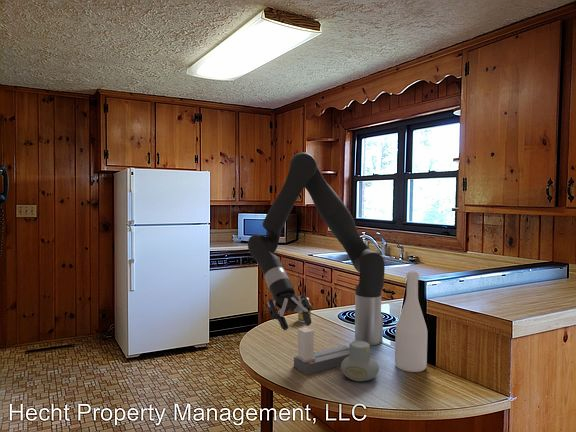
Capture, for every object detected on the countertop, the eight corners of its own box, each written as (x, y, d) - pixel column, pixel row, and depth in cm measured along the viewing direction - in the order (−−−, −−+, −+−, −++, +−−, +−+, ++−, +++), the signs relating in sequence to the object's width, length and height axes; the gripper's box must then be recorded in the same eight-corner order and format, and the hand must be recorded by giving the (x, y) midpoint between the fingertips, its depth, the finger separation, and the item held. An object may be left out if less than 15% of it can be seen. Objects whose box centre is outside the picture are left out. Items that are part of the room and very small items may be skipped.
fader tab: (306, 354, 136) (306, 326, 136) (315, 360, 132) (315, 331, 131) (295, 357, 134) (295, 328, 134) (304, 362, 130) (304, 333, 129)
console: (344, 353, 146) (344, 344, 145) (357, 361, 140) (358, 351, 140) (293, 366, 135) (293, 356, 135) (306, 374, 129) (306, 364, 129)
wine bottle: (427, 363, 138) (429, 269, 136) (425, 375, 129) (428, 275, 127) (396, 359, 141) (398, 267, 140) (393, 370, 133) (395, 273, 131)
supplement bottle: (305, 318, 185) (306, 296, 185) (313, 321, 181) (313, 298, 180) (295, 320, 183) (295, 297, 182) (302, 323, 178) (303, 300, 177)
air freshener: (380, 375, 129) (381, 342, 129) (374, 386, 122) (375, 351, 121) (345, 368, 134) (345, 337, 133) (337, 379, 126) (337, 345, 126)
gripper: (264, 279, 139) (283, 324, 130) (301, 275, 146) (321, 317, 138) (256, 292, 144) (274, 336, 135) (292, 287, 151) (311, 328, 142)
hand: (298, 326), depth 136 cm, fingers open, 8 cm apart
